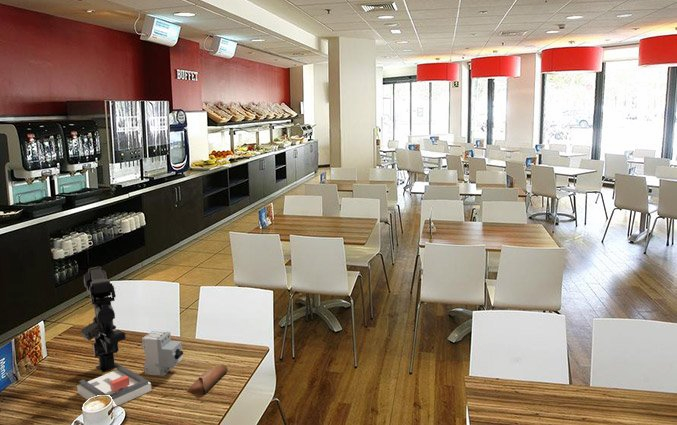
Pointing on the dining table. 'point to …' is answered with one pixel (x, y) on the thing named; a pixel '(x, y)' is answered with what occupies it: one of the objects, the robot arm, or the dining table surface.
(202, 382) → the sunglasses case
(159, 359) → the circuit breaker
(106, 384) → the switch panel
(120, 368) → the grey frame
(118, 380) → the lever
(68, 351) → the dining table surface
